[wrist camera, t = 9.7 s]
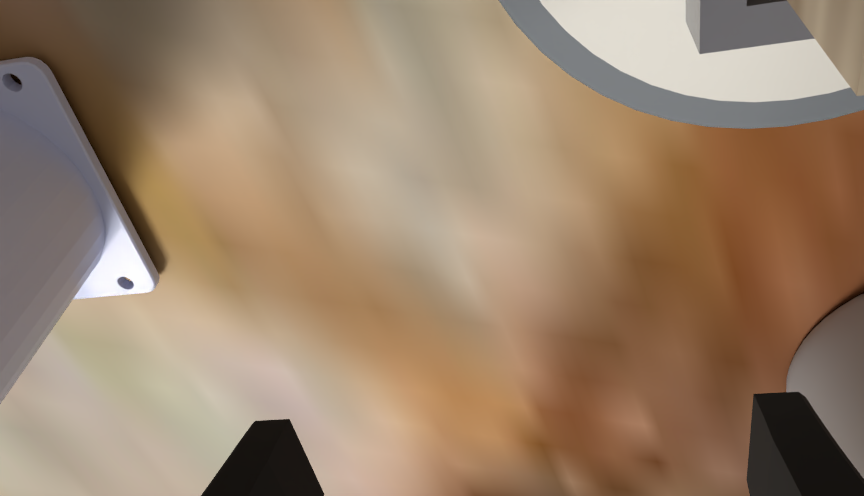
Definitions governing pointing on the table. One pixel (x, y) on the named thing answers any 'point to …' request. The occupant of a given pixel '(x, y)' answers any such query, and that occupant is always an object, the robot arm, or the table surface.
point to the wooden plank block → (837, 34)
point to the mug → (835, 376)
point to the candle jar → (692, 58)
